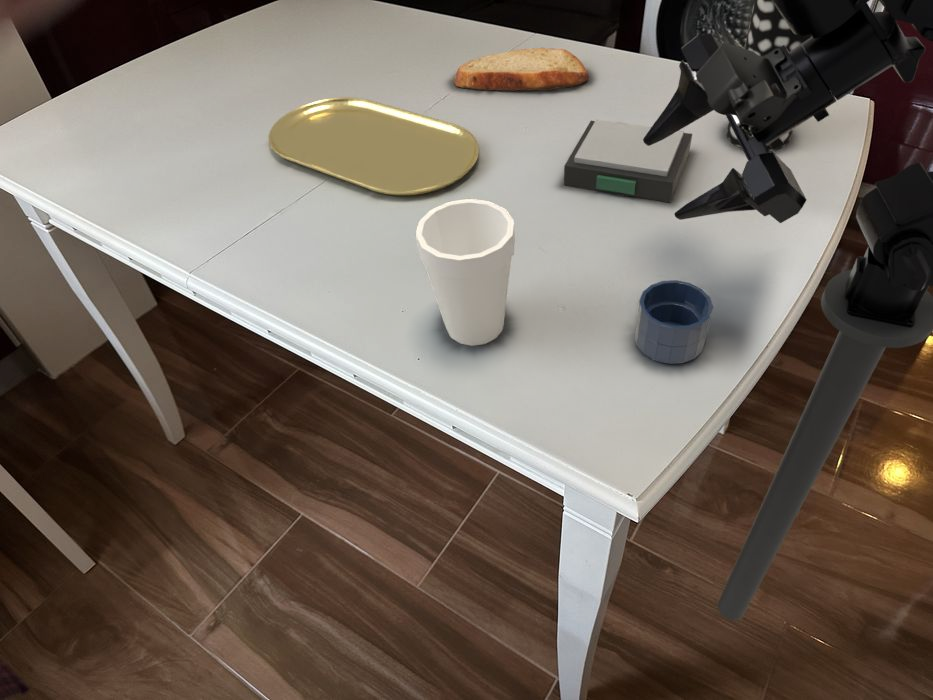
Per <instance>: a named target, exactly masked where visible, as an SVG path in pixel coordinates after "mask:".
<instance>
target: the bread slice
mask: <svg viewBox="0 0 933 700" xmlns="http://www.w3.org/2000/svg"><path fill="white" fill-rule="evenodd" d="M453 79H454V80H453V83H454V85H455V86H456V87H458V88H460V89H461V88H462V89H465V88H466V89H467V88H468V89H471V90H473V89H474V90H478V91H481V90H482V91H483V90H485V91H511V92H513V91H524V92H525V91H536V92H537V91H541V90H549V91H552V90H554V89H561V88H562V89H563V88H571V87H576V86H579V85H582V84H583V83H586V82H589V81H590V75H589V74H588V71H587V69H586V67H585V65H584V64H583V62H582V61H581V60H580V59H579V58H578V57H577V56H575V55H574V54H573V53H572V52H570V51H569V50H567V49H565V48H547V47H539V48H538V47H537V48H536V47H535V48H521V49H520V48H519V49H513V50H510V51H507V52H500V53H494V54H490V55H484V56H481V57H478V58H476V59H472V60H470V61H467V62H465V63H464V64H462V65H460V66H459V67H458V68H457V71H456V73H455V75H454V78H453Z"/></svg>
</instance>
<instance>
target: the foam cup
mask: <svg viewBox="0 0 933 700" xmlns="http://www.w3.org/2000/svg"><path fill="white" fill-rule="evenodd" d="M515 234H516V233H515V220H514V218H513V217H512V216H511V215H510V213H509V212H508V210H507V209H506V208H504V207H503V206H501V205H498V204H496V203H495V202H493V201H489V200H483V199H475V198H466V199H465V198H464V199H458V200H451V201H448V202H445V203H442V204H441V205H438V206H436V207H433V208H431V209H430V210H429V211H428V212H427V213H426V214H425V215H424V216H423V217H422V218H421V219H419V221H418V223H417V227H416V231H415V240H416V241H415V242H416V245H417V254H418V256H419V258H420V260H421V262H422V264H423V266H424V267H425V270H426V273H427V276H428V279H429V283H430V285H431V288H432V291H433V295H434V298H435V300H436V303H437V305H438V306H437V307H438V309H439V312H440V315H441V318H442V321H443V324H444V326H445V328H446V331H447V333H448V335H449V337H450V338H451V339H452V340H454V341H456V342H457V343H458V344H461V345H466V346H471V347H473V346H479V345H480V346H481V345H486V344H487V343H490V342H491V341H494V340H496V339H497V338H498V337H499V335H500V334H501V333H502V332H503V330H504V325H505V317H506V308H507V299H508V292H509V291H508V290H509V281H510V272H511V265H512V264H511V262H512V257H514V253H515V245H516V235H515Z"/></svg>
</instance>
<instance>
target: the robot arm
mask: <svg viewBox="0 0 933 700" xmlns="http://www.w3.org/2000/svg"><path fill="white" fill-rule="evenodd" d="M869 1H871V0H772V2H773V3H774V5H775V6H776V8H777V9H778V11H779V12H780V14H781V15H782V17H783V18H784V20H785V21H786V23H787V24H788V26H789V27H790V29H791V30H792V32H793V33H794V34H796V35H800V36H804V35H810V34H811V35H812V37H810V38H809V39H807V40H806V41H805V42H803V43H802V45H803V46H802V45H801V44H800V45H799V46H797V47H796V48H795V49H793V50H792V51H790V52H789V51H788V50H787V48H786V47H785V46H784V45H783V46H782V47H780V48H776V49H774V50H773V51H771V52H770V53H768V54H766V55H764V56H759V55H757V54H756V53H754V52H753V51H750V50H747V49H744V48H745V47H744V48H743V47H740V46H737V45H734V44H730V43H726V42H723V43H720V41H719V40H718V39H717V38H716V36H714V35H713V33H705V34H700V35H696V36H694V37H693V38H692V39H691V40H690V41H688V42H687V43H686V44H684V45H683V46H682V47H681V48H680V50H681V52H682V54H683V57H684V59H685V60H686V62H687V63H686V62H685V61H684V60H681V61H680V62H679V65H678V66H679V70H680V75H679V81H678V85H677V88H676V90H675V92H674V94H673V96H672V98H671V99H670V100H669V102H668V103H667V105H666V106H665V108H664V109H663V110H662V112H661V113H660V115H658V118H657V119H656V120H655V122H654V123H653V124H652V126H650V127H651V129H650V130H649V131H648V133H647V134H646V136H645V137H644V138H643V141H644V143H645V144H646V145H648V146H650V145H652V144H654V143H657V142H659V141H661V140H663V139H665V138H667V137H668V136H670V135H672V134H674V133H675V132H677V131H681V130H682V129H684V128H686V127H688V126H689V125H691V124H692V123H694V122H696V121H698V120H699V119H701V118H703V117H705V116H706V115H708V114H710V113H712V112H713V111H714V112H715V113H717V114H719V115H723V116H725V117H726V119H727V121H728V124H729V123H730V125H731V127H732V129H733V131H734V133H735V135H736V137H737V139H738V141H739V143H740V145H741V147H742V148H741V147H740V148H741V149H742V151H743V153H744V155H745V157H746V159H747V161H746V163H745V165H744V168H743V170H742V172H741V173H740V172H739V171H738V170H737V169H736V168H735V167H732V168H731V169H730V170H729V172H728V173H727V175H726V177H724V179H723V181H722V182H721V183H719V184H718V185H715V186H714V187H712V188H710V189H709V190H707V191H706V192H704V193H702V194H700V195H699V196H697V197H696V198H694V199H693V200H690V201H689V202H687V203H686V204H684V205H683V206H681V207H680V208H679V209H677V211H675V212H674V214H673V215H674V217H675V218H676V219H677V220H679V221H680V220H681V221H682V220H688V219H693V218H699V217H705V216H706V217H707V216H712V215H717V214H722V213H730V212H731V213H732V212H744V211H745V212H747V211H757V212H758V213H759V214H761V215H762V216H763V217H768V216H770V217H772V218H773V219H774V220H775V221H777V222H778V223H779V224H782V223H784V222H786V221H788V220H789V219H791V218H792V217H794V216H796V215H797V214H799V213H800V212H801V210H802V209H803V207H804V205H805V204H806V202H807V198H806V196H805V194H804V192H803V190H802V188H801V187H800V185H799V183H798V181H797V178H796V177H795V175H794V173H793V171H792V169H791V168H790V167H789V166H787V164H785V162H783V160H781V158H779V156H777V155H776V153H775V152H773V151H776V150H775V149H776V148H778V147H779V146H781V145H783V144H784V142H783V140H782V139H781V136H783V135H785V134H786V133H788V132H789V131H791V130H792V129H793V130H794V129H796V128H797V127H799V126H801V124H803V123H805V122H807V121H808V120H810V119H812V118H814V119H815V121H816V122H817V123H819V122H821V121H822V120H824V119H826V118H827V117H829V116H830V113H829V111H828V110H827V108H829V107H830V106H831V105H833V104H834V103H836V102H837V101H840V100H841V99H842V98H844V97H846V96H847V95H848V94H850V93H852V92H854V91H855V90H856V89H858V88H859V87H860V88H861V86H863V85H865V84H866V83H868V82H870V81H871V80H872V79H874V78H876V77H877V76H879V75H880V74H883V72H885V71H887V70H889V69H890V68H892V67H893V69H894V71H895V72H896V73H897V74H898V76H899V77H900V79H901V80H902V82H903V83H905V84H909V83H912V82H913V81H914V79H915V75H916V73H917V71H918V70H917V69H918V66H919V62H920V59H921V58H922V56H923V54H925V52H926V47H925V46H924V45H923V43H922V42H921V41H920V39H919V38H918V37H917V36H905V34H904V32H903V31H902V29H901V27H900V25H899V24H898V21H899V22H904V23H908V24H911V26H912V27H913V28H914V29H915V30H916V31H917V33H918V34H919V35H920V36H921V37H923V39H924V40H927V41H929V42H933V0H878V1H879V2H880V4H881V5H882V6H883V8H884V9H885V10H886V11H874V12H873V11H872V9H871V8H870V5H869V4H868V2H869ZM745 130H746V132H747V134H748V136H749V138H750V139H748V137H747V135H746V133H745ZM793 130H792V131H793ZM767 145H769V146H770V147H771V148H772V149H773V150H772V151H769V149H768V147H767ZM874 185H875V187H874V188H873V189H872V190H870V191H869V192H867V193H866V194H864V196H862V198H861V199H860V203H859V205H858V206H857V209H856V212H855V213H856V214H855V218H856V221H857V223H858V226H859V227H860V230H861V232H862V234H863V236H864V238H865V240H866V243H867V244H868V245H867V249H866V250H865V253H864V255H863V256H860V255H859V256H858V257H856V259H855V261H854V264H853V265H852V268H851V270H852V271H851V273H850V276H849V278H848V280H847V283H846V289H845V298H846V299H847V300H848V304H847V314H848V315H851V316H855V317H860V318H865V319H870V320H875V321H880V322H885V323H889V324H894V325H899V326H904V327H910V328H911V327H913V326H914V324H915V311H916V309H917V307H918V306H919V304H920V302H921V300H922V298H923V296H924V295H925V293H926V291H928V289H929V288H930V287H933V171H932V170H931V171H927V170H926V169H925V167H924V166H923V164H922V163H921V162H916V163H913V164H909V165H908V166H907V167H905V168H903V169H902V170H901V171H900V172H898V173H895V175H893V176H890V177H888V178H886V179H882V180H878V181H875V182H874ZM852 311H853V312H852Z"/></svg>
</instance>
